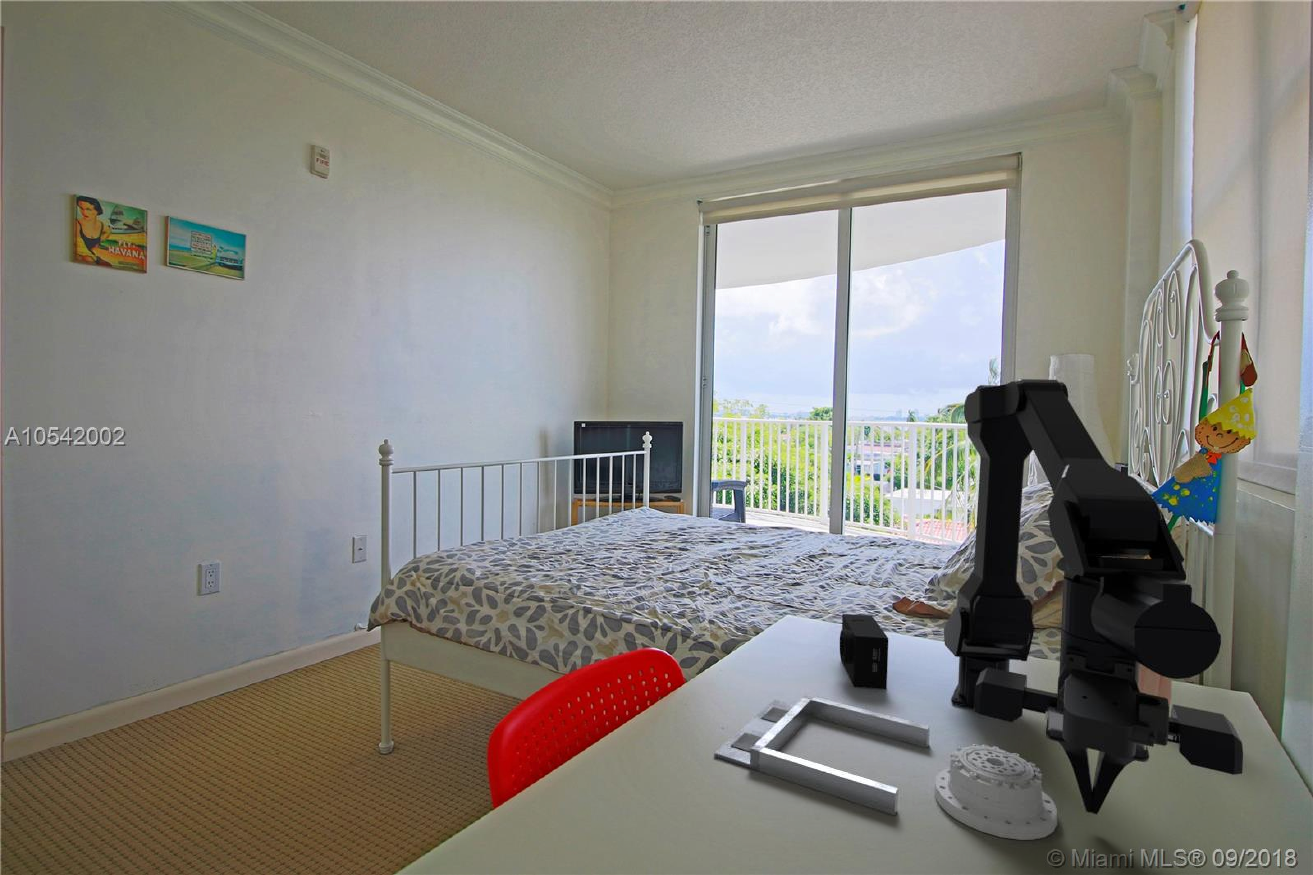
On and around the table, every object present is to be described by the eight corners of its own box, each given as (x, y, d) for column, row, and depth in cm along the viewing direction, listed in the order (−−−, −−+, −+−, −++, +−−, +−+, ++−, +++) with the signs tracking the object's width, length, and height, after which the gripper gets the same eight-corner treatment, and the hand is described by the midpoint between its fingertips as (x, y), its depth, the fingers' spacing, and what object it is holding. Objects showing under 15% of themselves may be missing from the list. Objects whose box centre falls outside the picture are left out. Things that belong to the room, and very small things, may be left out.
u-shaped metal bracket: (774, 703, 83) (774, 687, 83) (928, 744, 73) (929, 726, 73) (714, 756, 69) (714, 737, 69) (894, 815, 60) (895, 793, 59)
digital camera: (832, 659, 99) (833, 612, 99) (870, 661, 98) (871, 614, 98) (844, 687, 89) (846, 634, 88) (886, 690, 88) (888, 637, 88)
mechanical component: (946, 833, 58) (1075, 852, 55) (948, 782, 58) (1077, 800, 55) (926, 773, 67) (1034, 788, 65) (927, 730, 67) (1036, 743, 65)
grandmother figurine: (1112, 710, 83) (1117, 609, 83) (1118, 701, 86) (1122, 603, 86) (1191, 731, 78) (1196, 623, 77) (1194, 721, 81) (1199, 617, 80)
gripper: (969, 637, 56) (961, 820, 57) (1265, 691, 46) (1253, 912, 47) (984, 607, 66) (978, 764, 66) (1233, 646, 56) (1223, 831, 56)
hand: (1091, 811), depth 58 cm, fingers closed
